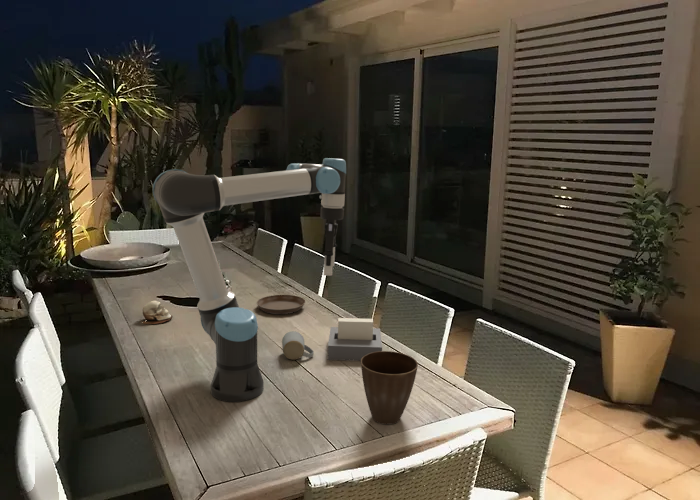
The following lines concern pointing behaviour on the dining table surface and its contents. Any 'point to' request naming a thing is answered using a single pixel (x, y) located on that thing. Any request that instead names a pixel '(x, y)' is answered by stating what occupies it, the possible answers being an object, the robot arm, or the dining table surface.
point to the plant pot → (388, 383)
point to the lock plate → (352, 346)
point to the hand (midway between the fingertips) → (329, 270)
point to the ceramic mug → (295, 346)
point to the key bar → (355, 329)
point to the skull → (155, 313)
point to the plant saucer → (281, 304)
